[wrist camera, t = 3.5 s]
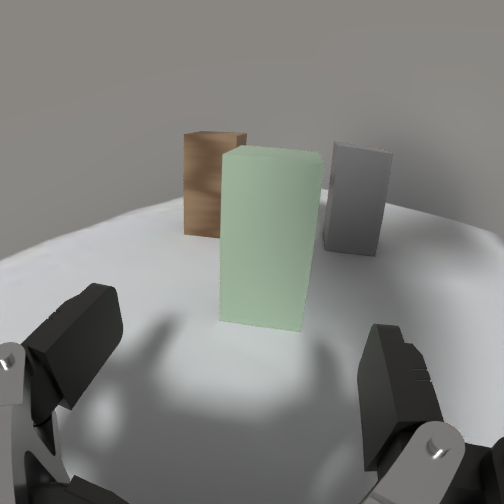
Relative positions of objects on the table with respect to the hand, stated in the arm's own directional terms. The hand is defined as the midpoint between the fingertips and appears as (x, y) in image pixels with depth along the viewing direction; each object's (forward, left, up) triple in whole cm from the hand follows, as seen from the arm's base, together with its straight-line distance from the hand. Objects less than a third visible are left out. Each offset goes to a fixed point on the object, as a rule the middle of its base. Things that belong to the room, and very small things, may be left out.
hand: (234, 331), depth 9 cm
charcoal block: (-7, -24, -6) cm, 26 cm away
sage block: (0, -11, -6) cm, 12 cm away
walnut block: (+7, -24, -6) cm, 26 cm away
